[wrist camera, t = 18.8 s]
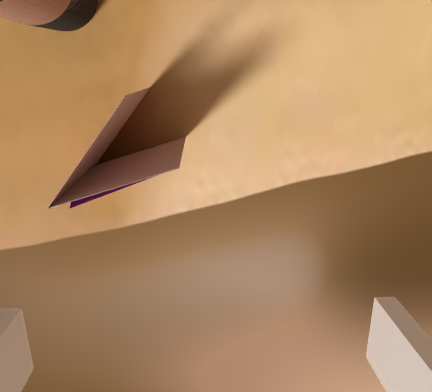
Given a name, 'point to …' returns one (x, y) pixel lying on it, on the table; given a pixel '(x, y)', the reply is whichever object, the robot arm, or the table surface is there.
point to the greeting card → (116, 161)
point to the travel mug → (49, 13)
